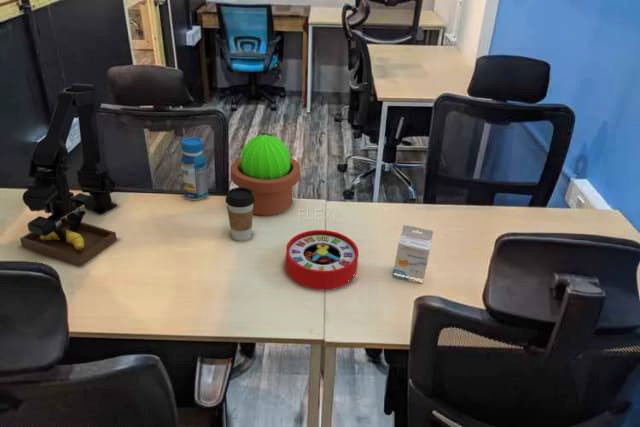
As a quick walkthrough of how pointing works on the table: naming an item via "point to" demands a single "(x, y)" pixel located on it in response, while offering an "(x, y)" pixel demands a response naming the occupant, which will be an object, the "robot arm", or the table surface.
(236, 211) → the coffee cup
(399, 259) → the ink box
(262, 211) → the potted cactus
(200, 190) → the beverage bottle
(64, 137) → the robot arm
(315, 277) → the toy clock
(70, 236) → the banana
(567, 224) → the table surface
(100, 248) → the tray
